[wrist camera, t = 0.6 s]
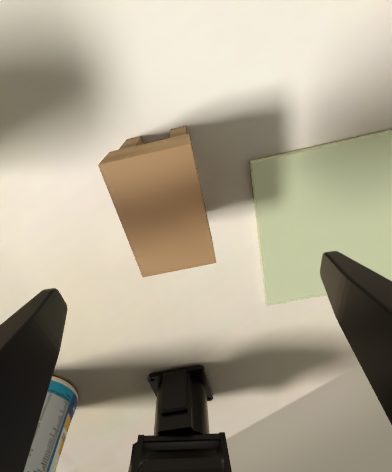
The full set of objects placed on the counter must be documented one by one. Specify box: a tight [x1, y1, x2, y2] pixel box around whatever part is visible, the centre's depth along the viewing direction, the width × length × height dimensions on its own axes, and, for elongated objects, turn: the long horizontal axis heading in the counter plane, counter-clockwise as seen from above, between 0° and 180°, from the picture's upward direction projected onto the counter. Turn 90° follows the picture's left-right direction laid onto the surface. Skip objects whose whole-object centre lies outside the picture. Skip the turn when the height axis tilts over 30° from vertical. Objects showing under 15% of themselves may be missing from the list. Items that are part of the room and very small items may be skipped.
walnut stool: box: [98, 126, 216, 277], centre depth 18 cm, size 7×4×6 cm, turn 12°
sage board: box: [250, 130, 392, 306], centre depth 23 cm, size 14×14×1 cm
